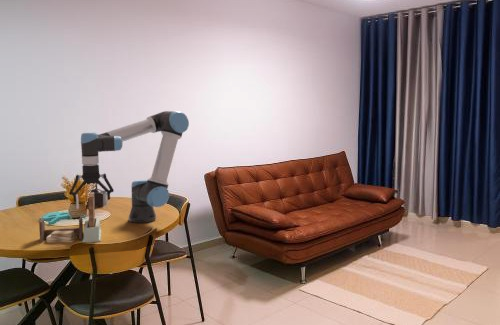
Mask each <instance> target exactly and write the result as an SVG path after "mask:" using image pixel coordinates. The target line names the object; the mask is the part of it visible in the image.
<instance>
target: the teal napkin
mask: <svg viewBox="0 0 500 325" xmlns="http://www.w3.org/2000/svg"><path fill="white" fill-rule="evenodd" d="M68 212H69V211H54V212H46V213H45V214H44V215H42V216H40V217H39V221H40V220H41V219H42V218H44V221H46V222H48V223H47V224H48V225H49V226H52V225H51V224H54V225H55V224H57V223H56V222H57V221H58V222H60V221H61V219H63V220H67V219H66V218H68V219H69V218H70V219H69V220H72V219H71V216H70V215H69V213H68ZM83 215H84V216H82V218H85V219H87V218H86V215H85V214H83ZM50 220H51V221H50Z"/></svg>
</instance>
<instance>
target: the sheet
mask: <svg viewBox="0 0 500 325" xmlns="http://www.w3.org/2000/svg"><path fill="white" fill-rule="evenodd" d="M88 202H89V207H88V218H89V228H90V227H95V218H96V214H95V209H96V207H95V205H94V192H90V194H89V198H88Z"/></svg>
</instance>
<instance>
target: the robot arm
mask: <svg viewBox="0 0 500 325" xmlns="http://www.w3.org/2000/svg"><path fill="white" fill-rule="evenodd" d="M188 128H189V118H188V116H187V114H186V113H184V112H183V111H178V110H174V111H173V110H171V111H170V110H165V111H161V112H158V113H156V114H153V115H150V116H148V117H146V119H144V120H140V121H138V122H134V123H131V124H128V125H125V126H122V127H119V128H118V127H117V128H116V129H112V130H109V131H107V132H103V133H100V134H98V133H97V132H83V133H81V134H80V135H81V136H80V145H81V146H80V147H81V164H82V166H81V167H82V175H80V174H76V175H75V180H74V183H73V184H72V186H71V189H70V191H69V194H68V195H69V196H71V195H72V196H73V202H74V203H75V205H76V206H75V207H76V210H79V209H80V207H79V195H78V193H79V192H80V191H81V190H82V189H83V188H84V187H85V186H84V185H85V184H86V183H87V184H89V185H91V184H94V185H95V183H96V182H97V183H98V184H97V185H99V186H100V187H101V189H103V191H106V205H105V206H106V208H108V207H109V200H110V199H111V193H114V192H115V191H114V188H113V186H112V185H111V183H110V181H109V180H108V178H107V173H105V172H104V173H102V174H101V173H100V165H99V161H100V159H99V158H100V157H99V153H100V152H116V151H117V152H118V151H121V150H122V148H123V143H124V142H126V141H129V140H132V139H134V138H137V137H140V136H141V137H142V136H143V135H146V134H149V133H152V134H155V133H159V132H160V133H161V135H162V136H161V141H160V144H159V148H158V151H157V155H156V159H155V163H154V166H153V170H152V174H151V176H150V177H149V178H148V179H141V180H134V181H132V182H131V209H130V212H129V215H128V221H129V222H130V223H135V224H141V223H142V224H145V223H151V221H152V222H154V221H156V220H157V215H156V212H155V209H154V208H161V207H163V206H164V205H166V204H167V203H168V201H169V198H170V192H169V190H168V188H169V183H168V178H169V174H170V169H171V167H172V163H173V160H174V159H173V158H174V155H175V151H176V149H177V148H176V147H177V144H178V142H179V140H181V139H182V136H183V134H184V133H185V132H186V131H187V130H188ZM100 178H101V179H103V181H104V182H105V184H106V185H105V184H103V183H102V182H101V181H100ZM81 179H82V180H83V181H82V183H81V184H80V185H79V186H78V187H77V189H76V190H75V188H76V186H77V183H78V182H79V180H81ZM106 186H107V187H106ZM108 188H109V189H108ZM155 219H156V220H155Z"/></svg>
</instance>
